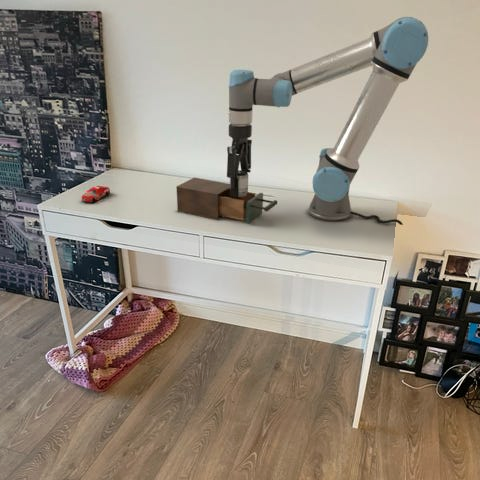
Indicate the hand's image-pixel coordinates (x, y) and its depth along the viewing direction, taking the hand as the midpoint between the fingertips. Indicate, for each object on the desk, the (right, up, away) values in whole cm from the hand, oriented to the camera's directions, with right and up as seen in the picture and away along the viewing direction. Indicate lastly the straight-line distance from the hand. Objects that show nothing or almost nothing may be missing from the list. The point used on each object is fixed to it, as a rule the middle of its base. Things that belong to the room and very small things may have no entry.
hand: (238, 193), depth 169 cm
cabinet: (-12, -4, +10) cm, 16 cm away
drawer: (+2, -7, +3) cm, 8 cm away
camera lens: (0, 0, 0) cm, 0 cm away
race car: (-55, +3, +18) cm, 58 cm away
